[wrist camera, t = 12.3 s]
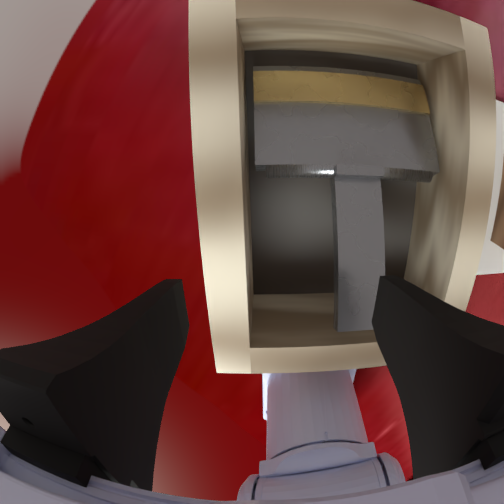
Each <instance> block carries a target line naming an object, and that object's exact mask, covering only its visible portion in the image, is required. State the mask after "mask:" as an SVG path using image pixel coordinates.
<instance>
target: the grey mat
mask: <svg viewBox="0 0 504 504" xmlns="http://www.w3.org/2000/svg"><path fill="white" fill-rule="evenodd" d="M503 160H504V103H503V102H501V101H498V100H496V154H495V169H494V180H493V189H492V198H491V205H490V212H489V218H488V224H487V229H486V235H485V240H484V244H483V249H482V253H481V258H480V262H479V266H478V270H477V274H476V275H482V274H495V273H504V249H502V248H501V247H499V246H498V245H496V244H495V243H493V242H492V241H490V240H491V235H492V231H493V226H494V221H495V216H496V211H497V205H498V199H499V193H500V186H501V178H502V170H503Z"/></svg>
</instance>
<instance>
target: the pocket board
mask: <svg viewBox="0 0 504 504" xmlns="http://www.w3.org/2000/svg"><path fill="white" fill-rule="evenodd" d="M253 66H309V67H328V68H341V69H351V70H360V71H368V72H376V73H383V74H389V75H395V76H401V77H406V78H412V79H417V80H420V83H421V85H423V87H424V91H425V94H426V98H427V102H428V106H429V110H430V115H429V117H430V121H431V126H432V131H433V135H434V141H435V146H436V151H437V157H438V163H439V170H440V172H439V173H438V174H436V175H434V176H433V178H432V180H431V182H430V183H425V182H412V181H396V180H380V181H381V192H382V205H383V220H384V241H385V276H388V275H395V276H398V277H400V278H402V279H405V280H406V281H408V282H410V283H412V284H414V285H416V286H417V287H419V288H421V289H423V290H424V291H426V292H428V293H430V294H432V295H433V296H435V297H437V298H439V299H441V300H442V301H444V302H446V303H448V304H450V305H452V306H454V307H456V308H458V309H460V310H462V311H466V308H467V305H468V301H469V298H470V295H471V292H472V288H473V285H474V281H475V278H476V274H477V270H478V266H479V262H480V258H481V253H482V249H483V244H484V240H485V235H486V229H487V224H488V218H489V212H490V205H491V198H492V189H493V180H494V169H495V154H496V96H495V81H494V71H493V62H492V54H491V47H490V41H489V35H488V30H487V28H486V27H484V26H482V25H479V24H477V23H475V22H473V21H470V20H468V19H465V18H463V17H460V16H458V15H455V14H453V13H450V12H447V11H444V10H441V9H439V8H436V7H433V6H429V5H426V4H423V3H420V2H416V1H413V0H189V81H190V108H191V129H192V147H193V162H194V177H195V190H196V202H197V214H198V225H199V235H200V245H201V255H202V264H203V273H204V282H205V290H206V299H207V307H208V314H209V322H210V329H211V337H212V344H213V351H214V358H215V364H216V371H217V373H302V372H321V371H336V370H348V369H359V368H369V367H377V366H386V365H387V364H386V362H385V360H384V358H383V355H382V353H381V351H380V348H379V346H378V344H377V340H376V337H375V333H374V330H361V331H346V332H337V331H336V330H335V329H334V328H333V321H334V250H333V219H332V199H331V183H330V178H266V171H256V168H255V130H254V87H253Z"/></svg>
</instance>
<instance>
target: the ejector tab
mask: <svg viewBox="0 0 504 504" xmlns="http://www.w3.org/2000/svg"><path fill="white" fill-rule="evenodd" d="M253 87H254V130H255V168H256V171H266V178H330V183H331V199H332V219H333V250H334V321H333V328H334V329H335V330H336V331H337V332H346V331H361V330H373V326H372V322H371V321H372V317H373V312H374V306H375V301H376V296H377V290H378V284H379V278H380V276H385V241H384V220H383V205H382V192H381V181H380V180H396V181H412V182H425V183H430V182H431V180H432V178H433V176H434V175H436V174H438V173H439V172H440V170H439V163H438V157H437V151H436V146H435V141H434V135H433V131H432V126H431V121H430V117H429V115H430V110H429V106H428V102H427V98H426V94H425V91H424V87H423V85H421V83H420V80H417V79H412V78H406V77H401V76H395V75H389V74H383V73H376V72H368V71H360V70H351V69H341V68H328V67H309V66H253Z"/></svg>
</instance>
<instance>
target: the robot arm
mask: <svg viewBox="0 0 504 504" xmlns="http://www.w3.org/2000/svg"><path fill="white" fill-rule="evenodd" d="M371 322H372V326H373V330H374V333H375V337H376V340H377V344H378V346H379V348H380V351H381V353H382V355H383V358H384V360H385V362H386V364H387V367H388V369H389V371H390V374H391V376H392V378H393V381H394V383H395V386H396V388H397V391H398V394H399V397H400V400H401V404H402V408H403V412H404V416H405V421H406V425H407V431H408V436H409V442H410V449H411V457H412V467H413V480H411V481H407V482H406V481H405V478H404V474H403V471H402V469H401V466H400V464H399V462H398V461H397V460H396V459H395V458H394V457H392V456H390V455H389V454H388V453H386V452H384V453H380V454H377V453H376V449H375V445H374V442H369V443H368V440H367V436H366V432H365V428H364V424H363V420H362V416H361V412H360V408H359V405H358V401H357V397H356V394H355V390H354V386H353V381H354V377H355V373H356V369H348V370H336V371H321V372H302V373H262V378H263V418H264V419H265V420H267V460H265V461H260V467H259V474H256V475H251V476H249V477H248V478H247V480H246V481H245V482H244V483H243V484H242V486H241V487H240V490H239V493H238V498H237V501H212V500H203V499H194V498H187V497H180V496H174V495H168V494H162V493H157V492H152V485H153V472H154V464H155V456H156V449H157V442H158V437H159V431H160V425H161V420H162V416H163V411H164V406H165V402H166V399H167V396H168V392H169V390H170V387H171V384H172V381H173V378H174V376H175V373H176V371H177V368H178V365H179V362H180V360H181V357H182V354H183V351H184V348H185V344H186V340H187V335H188V330H189V321H188V315H187V309H186V303H185V297H184V291H183V284H182V279H166V280H163V281H161V282H160V283H158V284H156V285H155V286H153V287H152V288H150V289H149V290H147V291H146V292H144V293H143V294H141V295H140V296H138V297H137V298H135V299H134V300H132V301H131V302H129V303H127V304H126V305H124V306H122V307H121V308H119V309H117V310H116V311H114V312H112V313H111V314H109V315H107V316H105V317H103V318H101V319H100V320H98V321H95V322H93V323H92V324H89V325H87V326H85V327H82V328H80V329H77V330H75V331H72V332H69V333H67V334H64V335H62V336H59V337H55V338H52V339H49V340H45V341H41V342H37V343H33V344H28V345H23V346H17V347H11V348H3V349H1V350H0V412H1V414H2V415H3V416H4V418H5V419H6V420H7V421H8V423H9V424H10V427H9V429H8V430H7V431H5V430H4V429H3V428H2V427H1V426H0V504H504V326H503V325H500V324H497V323H494V322H490V321H487V320H484V319H482V318H479V317H477V316H474V315H472V314H469V313H467V312H465V311H462V310H460V309H458V308H456V307H454V306H452V305H450V304H448V303H446V302H444V301H442V300H441V299H439V298H437V297H435V296H433V295H432V294H430V293H428V292H426V291H424V290H423V289H421V288H419V287H417V286H416V285H414V284H412V283H410V282H408V281H406V280H405V279H402V278H400V277H398V276H395V275H388V276H380V278H379V284H378V290H377V296H376V301H375V306H374V312H373V317H372V321H371Z"/></svg>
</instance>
